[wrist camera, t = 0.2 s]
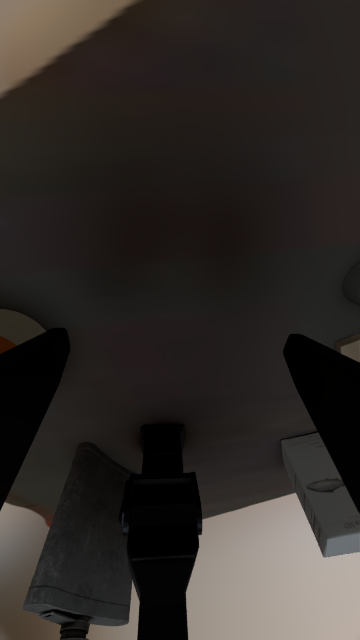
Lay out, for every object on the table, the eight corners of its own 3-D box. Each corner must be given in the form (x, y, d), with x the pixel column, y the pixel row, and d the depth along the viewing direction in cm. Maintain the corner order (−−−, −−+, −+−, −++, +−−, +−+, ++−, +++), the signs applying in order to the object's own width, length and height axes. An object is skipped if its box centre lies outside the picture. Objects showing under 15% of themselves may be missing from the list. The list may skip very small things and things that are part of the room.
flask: (128, 485, 41) (105, 661, 26) (70, 448, 35) (-6, 652, 19) (144, 478, 41) (131, 656, 25) (87, 440, 34) (23, 645, 19)
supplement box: (323, 428, 37) (392, 528, 26) (322, 453, 40) (381, 550, 29) (279, 438, 37) (327, 540, 26) (281, 462, 41) (324, 560, 30)
